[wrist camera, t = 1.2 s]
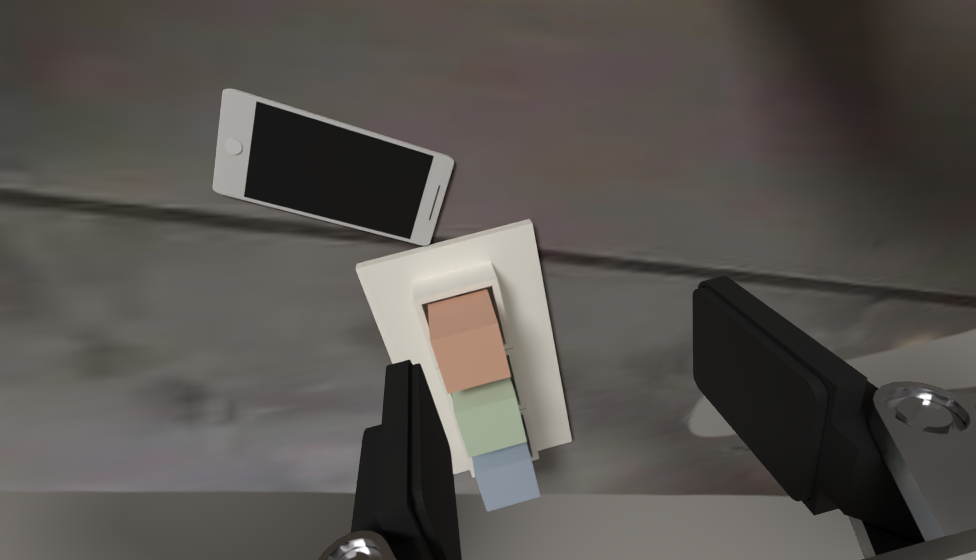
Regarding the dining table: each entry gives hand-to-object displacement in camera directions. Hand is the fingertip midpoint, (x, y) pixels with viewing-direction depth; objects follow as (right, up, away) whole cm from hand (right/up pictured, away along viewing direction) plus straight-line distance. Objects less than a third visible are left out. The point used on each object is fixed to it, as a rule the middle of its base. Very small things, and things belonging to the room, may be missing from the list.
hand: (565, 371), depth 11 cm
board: (-3, -5, +31) cm, 31 cm away
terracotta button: (-4, -1, +25) cm, 25 cm away
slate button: (-1, -12, +31) cm, 33 cm away
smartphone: (-13, +10, +23) cm, 28 cm away
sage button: (-2, -7, +28) cm, 29 cm away
